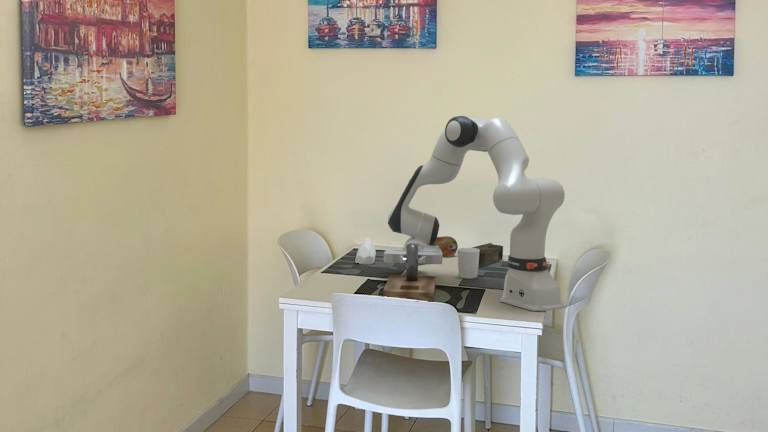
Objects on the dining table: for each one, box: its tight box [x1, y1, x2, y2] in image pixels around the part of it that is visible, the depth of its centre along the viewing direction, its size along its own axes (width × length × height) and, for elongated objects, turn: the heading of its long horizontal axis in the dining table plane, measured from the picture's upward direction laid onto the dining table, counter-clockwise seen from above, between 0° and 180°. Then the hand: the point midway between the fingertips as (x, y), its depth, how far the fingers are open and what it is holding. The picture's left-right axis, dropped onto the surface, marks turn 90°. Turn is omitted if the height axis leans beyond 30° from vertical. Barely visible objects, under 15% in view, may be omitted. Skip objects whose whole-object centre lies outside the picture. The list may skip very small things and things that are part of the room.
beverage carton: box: [471, 242, 504, 268], centre depth 336 cm, size 8×19×7 cm, turn 144°
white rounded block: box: [354, 237, 377, 265], centre depth 340 cm, size 7×7×24 cm
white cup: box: [457, 247, 480, 280], centre depth 310 cm, size 8×8×10 cm
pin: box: [405, 244, 419, 281], centre depth 290 cm, size 4×4×12 cm
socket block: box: [382, 274, 437, 302], centre depth 286 cm, size 16×24×3 cm, turn 175°
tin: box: [434, 235, 459, 258], centre depth 345 cm, size 15×3×8 cm, turn 104°
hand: (411, 261), depth 289 cm, fingers closed on pin, 4 cm apart
